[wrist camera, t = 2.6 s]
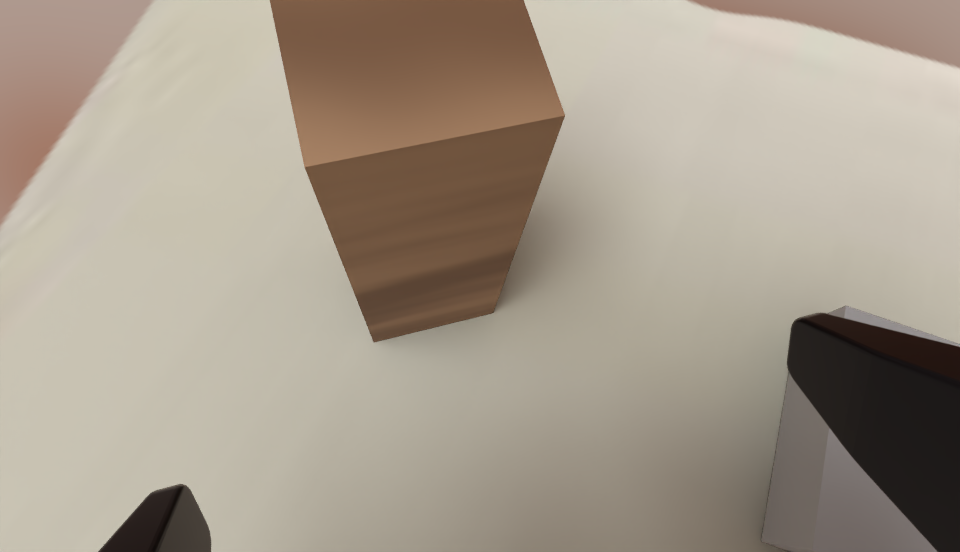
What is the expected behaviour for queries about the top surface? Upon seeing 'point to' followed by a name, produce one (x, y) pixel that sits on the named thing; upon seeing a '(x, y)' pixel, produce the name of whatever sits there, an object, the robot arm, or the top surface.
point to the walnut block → (420, 145)
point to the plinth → (831, 482)
